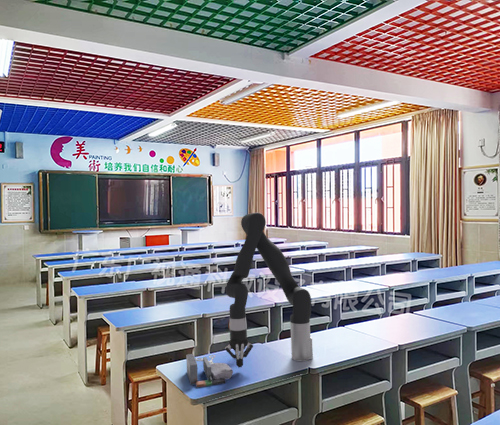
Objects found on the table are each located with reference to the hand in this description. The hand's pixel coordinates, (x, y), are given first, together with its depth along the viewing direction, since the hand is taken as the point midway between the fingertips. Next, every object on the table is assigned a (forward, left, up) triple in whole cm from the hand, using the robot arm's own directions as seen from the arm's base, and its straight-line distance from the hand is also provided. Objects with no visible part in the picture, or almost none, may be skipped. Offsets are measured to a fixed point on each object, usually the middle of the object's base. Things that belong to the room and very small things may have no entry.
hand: (239, 366), depth 182 cm
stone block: (+9, +1, -3) cm, 9 cm away
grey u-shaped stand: (+16, +2, -2) cm, 16 cm away
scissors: (+11, -16, -3) cm, 19 cm away
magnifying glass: (-3, -20, -2) cm, 20 cm away
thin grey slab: (+14, +2, -1) cm, 15 cm away
